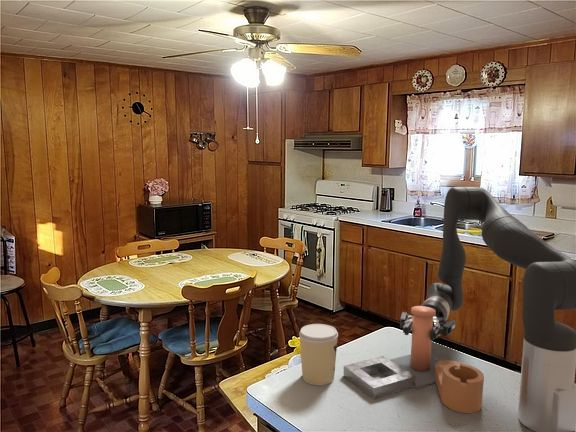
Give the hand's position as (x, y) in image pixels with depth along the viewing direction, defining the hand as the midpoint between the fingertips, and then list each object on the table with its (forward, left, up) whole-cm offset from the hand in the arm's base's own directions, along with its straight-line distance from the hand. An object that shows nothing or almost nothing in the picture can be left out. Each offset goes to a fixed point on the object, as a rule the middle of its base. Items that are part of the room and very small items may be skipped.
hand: (418, 333), depth 112 cm
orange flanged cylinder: (+1, -2, -10) cm, 10 cm away
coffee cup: (+9, +23, -10) cm, 27 cm away
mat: (+1, -2, -10) cm, 11 cm away
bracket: (-11, -2, -10) cm, 15 cm away
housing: (+1, +11, -10) cm, 15 cm away
